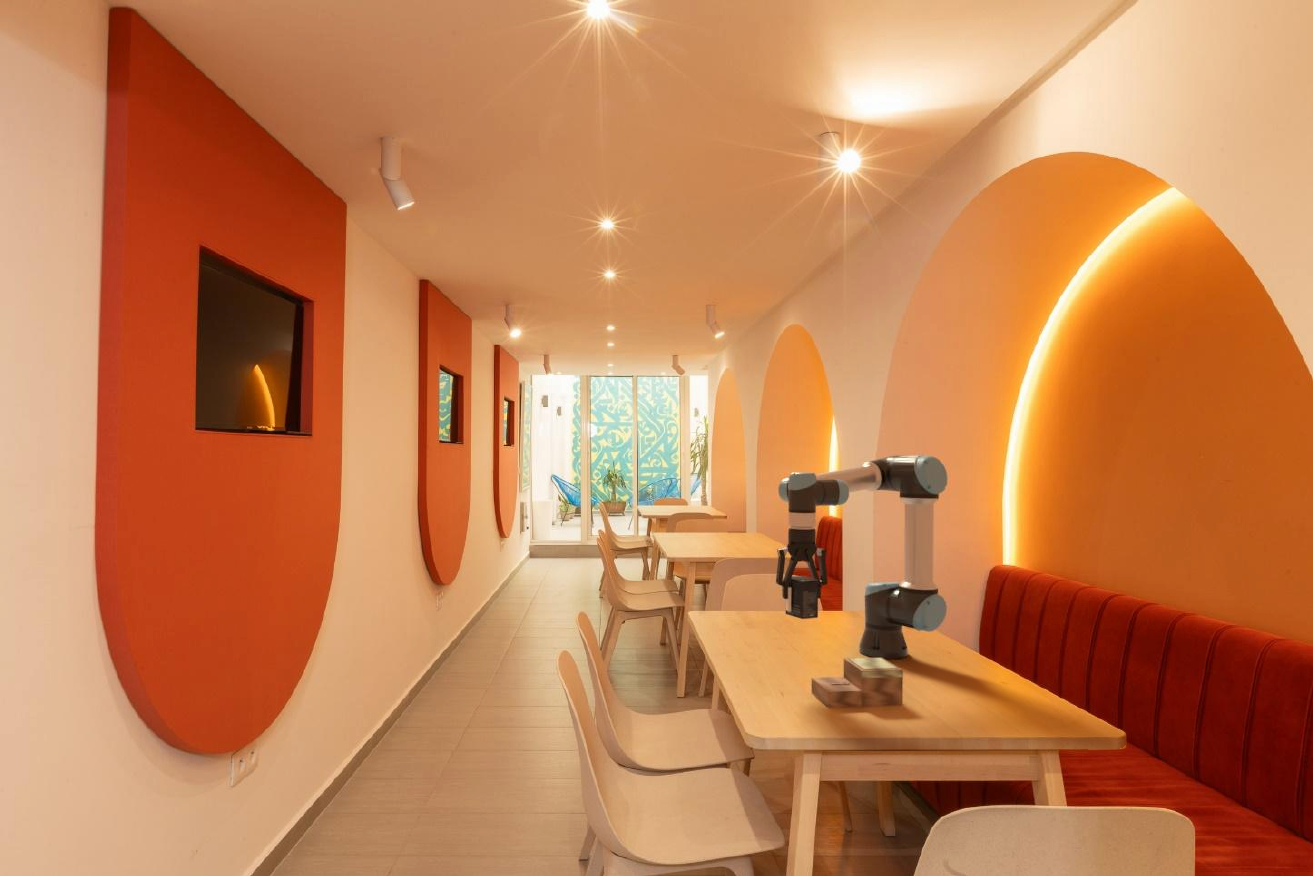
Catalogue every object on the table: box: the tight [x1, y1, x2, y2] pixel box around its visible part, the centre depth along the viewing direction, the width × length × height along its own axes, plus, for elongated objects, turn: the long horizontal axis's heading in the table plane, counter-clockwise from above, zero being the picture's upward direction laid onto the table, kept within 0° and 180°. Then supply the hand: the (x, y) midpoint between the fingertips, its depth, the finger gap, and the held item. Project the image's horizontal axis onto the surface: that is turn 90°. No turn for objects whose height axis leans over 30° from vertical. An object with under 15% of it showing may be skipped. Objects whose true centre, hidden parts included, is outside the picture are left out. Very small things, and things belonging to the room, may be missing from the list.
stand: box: [811, 657, 904, 709], centre depth 193 cm, size 20×12×9 cm, turn 98°
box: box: [785, 575, 819, 620], centre depth 204 cm, size 8×6×11 cm
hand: (801, 610), depth 204 cm, fingers closed on box, 7 cm apart
